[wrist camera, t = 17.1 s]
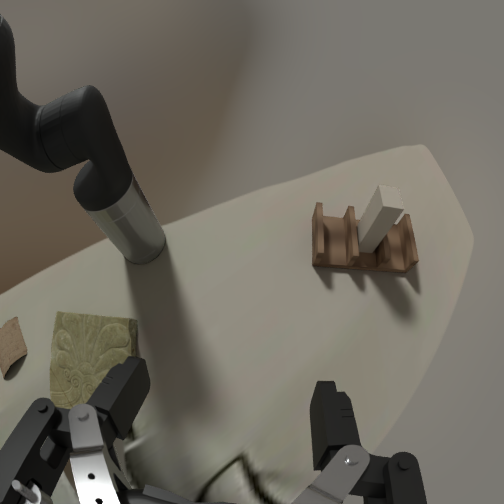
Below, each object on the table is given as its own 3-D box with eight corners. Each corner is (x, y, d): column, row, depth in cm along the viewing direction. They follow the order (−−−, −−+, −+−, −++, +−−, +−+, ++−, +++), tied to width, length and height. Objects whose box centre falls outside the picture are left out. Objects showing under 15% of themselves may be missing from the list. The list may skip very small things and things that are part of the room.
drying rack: (406, 272, 46) (418, 261, 41) (312, 265, 47) (318, 252, 43) (398, 228, 50) (409, 214, 46) (312, 218, 52) (316, 202, 47)
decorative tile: (58, 409, 35) (46, 409, 32) (63, 313, 44) (53, 308, 41) (139, 430, 35) (130, 434, 31) (141, 319, 44) (133, 314, 40)
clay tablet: (19, 315, 43) (12, 312, 41) (32, 351, 40) (24, 349, 37) (-7, 347, 39) (-14, 344, 36) (5, 382, 35) (-3, 380, 33)
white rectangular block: (372, 253, 47) (404, 209, 34) (354, 251, 47) (383, 205, 34) (369, 234, 48) (398, 188, 36) (353, 232, 49) (378, 184, 36)
